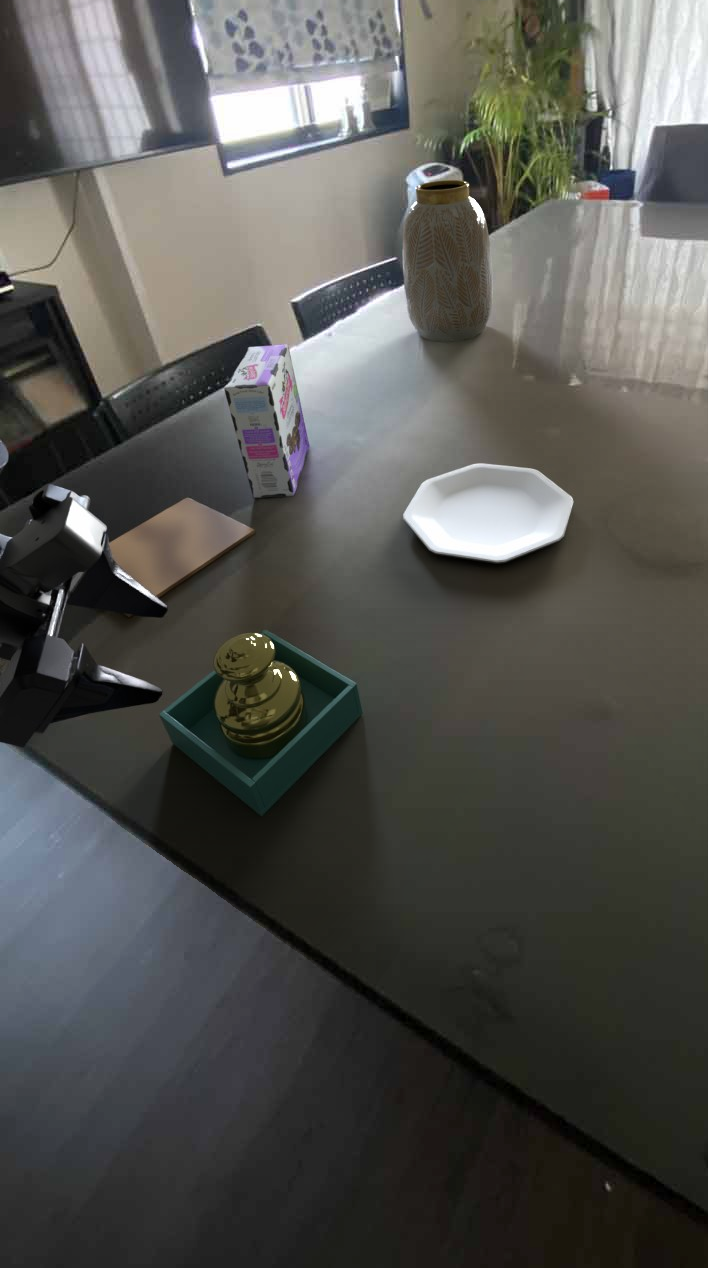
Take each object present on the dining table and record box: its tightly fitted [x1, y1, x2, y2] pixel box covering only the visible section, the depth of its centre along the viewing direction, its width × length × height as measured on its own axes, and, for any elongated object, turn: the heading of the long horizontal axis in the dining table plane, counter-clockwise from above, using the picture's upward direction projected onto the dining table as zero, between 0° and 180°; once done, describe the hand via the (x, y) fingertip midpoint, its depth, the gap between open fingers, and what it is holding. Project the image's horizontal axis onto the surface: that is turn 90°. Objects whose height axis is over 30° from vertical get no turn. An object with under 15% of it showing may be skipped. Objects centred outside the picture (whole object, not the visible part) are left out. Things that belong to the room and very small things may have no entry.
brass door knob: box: [213, 632, 307, 758], centre depth 58 cm, size 7×8×10 cm
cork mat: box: [109, 496, 256, 618], centre depth 83 cm, size 18×14×1 cm
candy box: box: [224, 343, 310, 499], centre depth 93 cm, size 14×6×16 cm, turn 179°
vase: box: [402, 179, 494, 342], centre depth 130 cm, size 17×17×27 cm
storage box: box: [158, 629, 364, 817], centre depth 60 cm, size 12×12×4 cm
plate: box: [402, 462, 574, 565], centre depth 84 cm, size 20×20×2 cm
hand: (162, 651), depth 53 cm, fingers open, 9 cm apart
